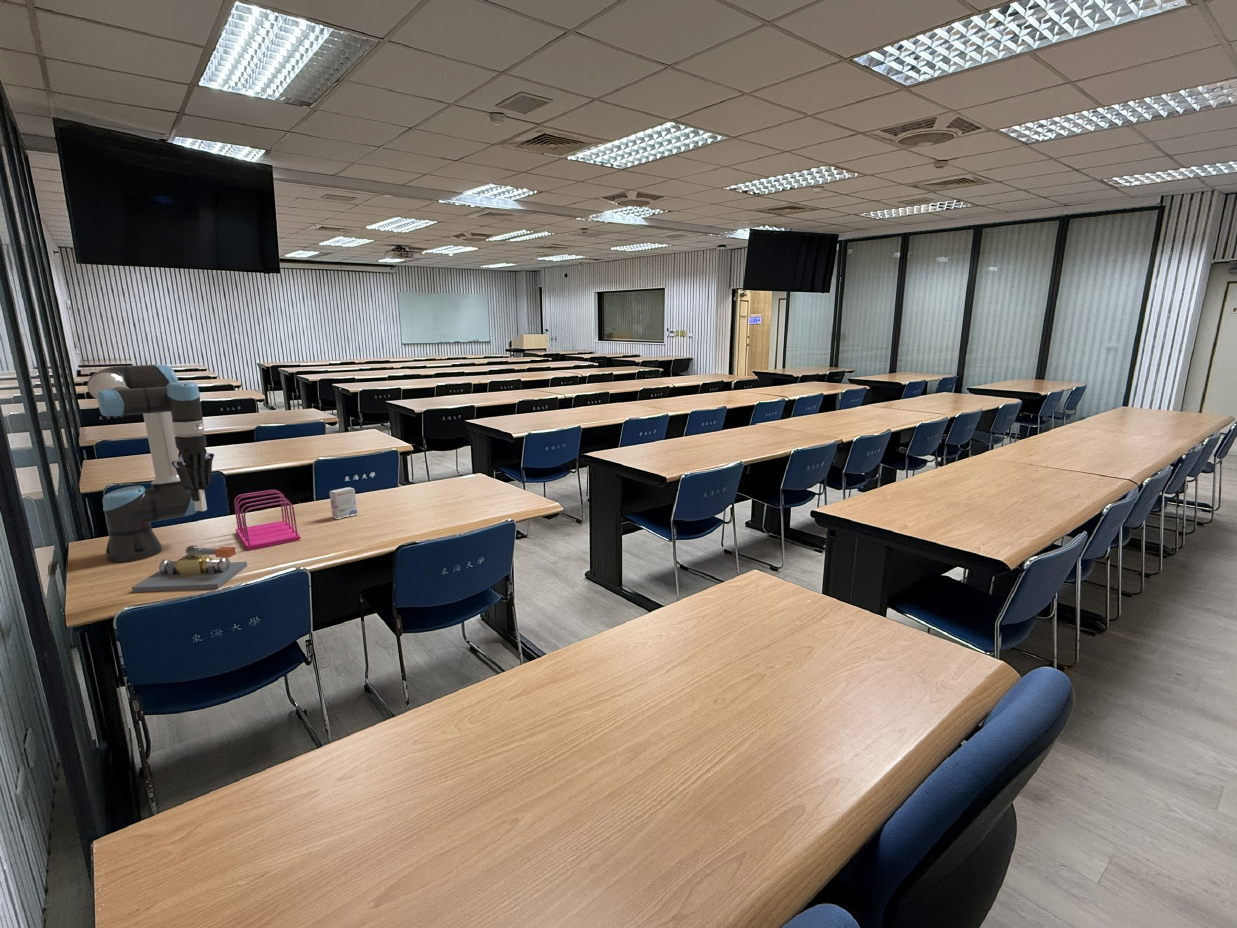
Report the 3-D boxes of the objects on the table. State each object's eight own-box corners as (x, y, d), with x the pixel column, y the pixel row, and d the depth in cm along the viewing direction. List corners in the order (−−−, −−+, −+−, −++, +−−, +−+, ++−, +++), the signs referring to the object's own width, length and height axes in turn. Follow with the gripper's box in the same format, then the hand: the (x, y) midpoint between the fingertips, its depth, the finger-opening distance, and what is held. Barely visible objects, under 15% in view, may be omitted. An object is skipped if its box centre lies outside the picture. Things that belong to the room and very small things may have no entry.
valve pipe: (159, 578, 187) (156, 561, 186) (171, 570, 193) (168, 554, 192) (222, 575, 189) (219, 558, 188) (231, 568, 195) (229, 552, 194)
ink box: (351, 513, 257) (349, 486, 255) (357, 515, 254) (355, 488, 252) (331, 517, 251) (328, 490, 248) (337, 520, 248) (334, 492, 245)
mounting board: (132, 592, 180) (131, 587, 179) (169, 568, 197) (169, 564, 197) (218, 588, 182) (217, 583, 182) (247, 565, 200) (246, 561, 199)
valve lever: (185, 557, 189) (183, 548, 188) (192, 553, 192) (191, 545, 191) (229, 558, 187) (227, 550, 187) (236, 555, 190) (234, 546, 190)
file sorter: (247, 551, 213) (241, 508, 210) (235, 533, 232) (230, 494, 229) (301, 540, 224) (296, 500, 221) (286, 524, 243) (281, 486, 240)
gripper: (181, 439, 172) (193, 517, 178) (218, 431, 185) (228, 504, 190) (159, 437, 174) (171, 515, 179) (197, 430, 186) (208, 503, 192)
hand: (201, 510), depth 185 cm, fingers closed
